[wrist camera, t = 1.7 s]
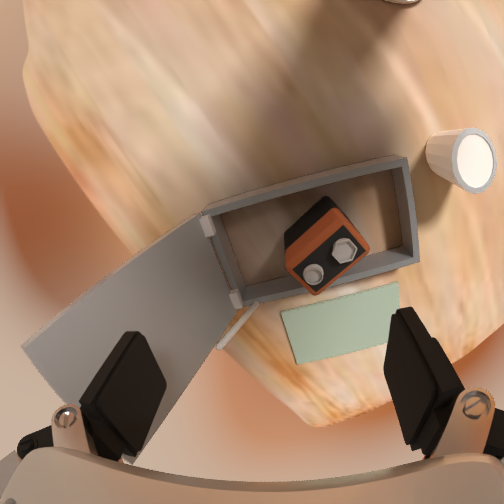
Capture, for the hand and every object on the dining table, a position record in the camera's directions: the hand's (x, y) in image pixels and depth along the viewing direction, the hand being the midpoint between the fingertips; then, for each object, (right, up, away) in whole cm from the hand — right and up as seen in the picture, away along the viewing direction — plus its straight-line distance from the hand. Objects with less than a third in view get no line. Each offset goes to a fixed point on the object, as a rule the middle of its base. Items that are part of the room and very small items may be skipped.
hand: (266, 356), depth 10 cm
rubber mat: (+12, -6, +27) cm, 31 cm away
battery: (+7, +7, +22) cm, 24 cm away
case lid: (-8, -2, +12) cm, 15 cm away
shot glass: (+22, +16, +17) cm, 32 cm away
